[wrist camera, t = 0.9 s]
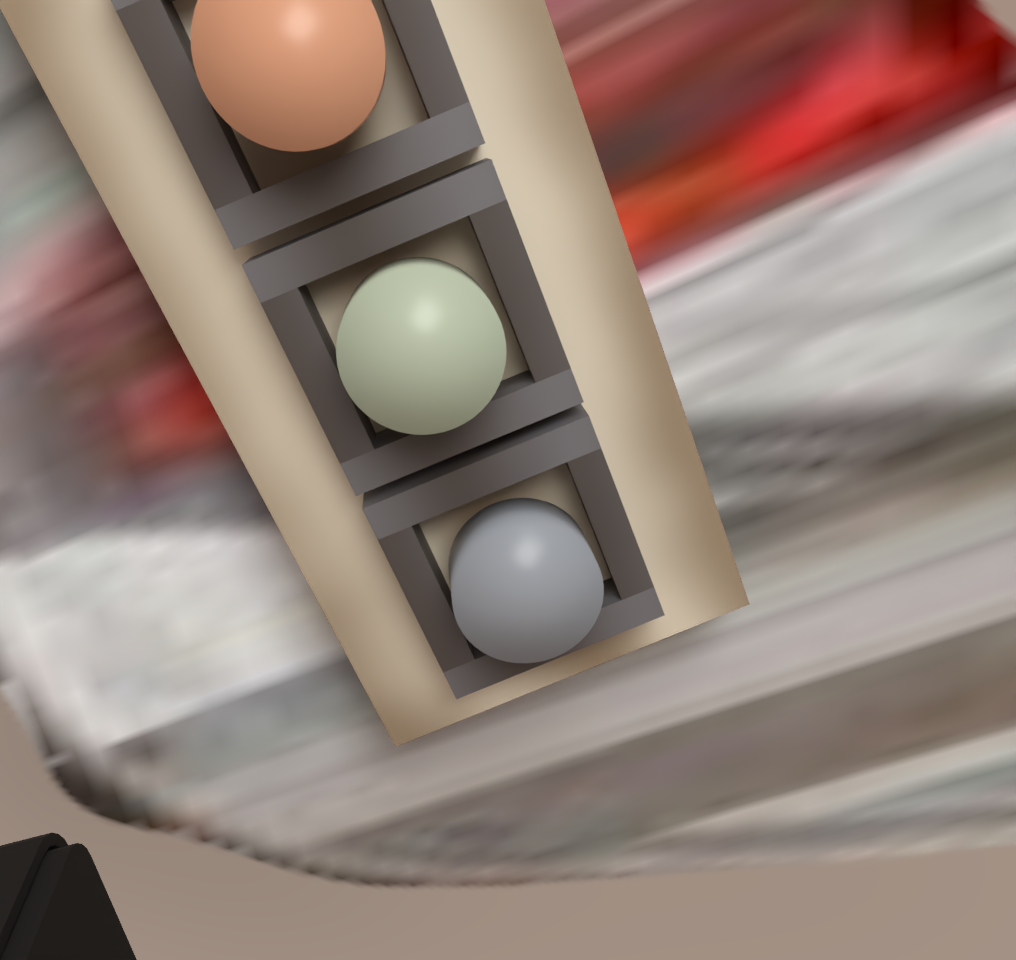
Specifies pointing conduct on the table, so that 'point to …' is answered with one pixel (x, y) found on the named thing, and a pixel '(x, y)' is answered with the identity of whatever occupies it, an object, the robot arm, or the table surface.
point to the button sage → (420, 346)
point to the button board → (333, 278)
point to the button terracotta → (290, 67)
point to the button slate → (524, 581)
